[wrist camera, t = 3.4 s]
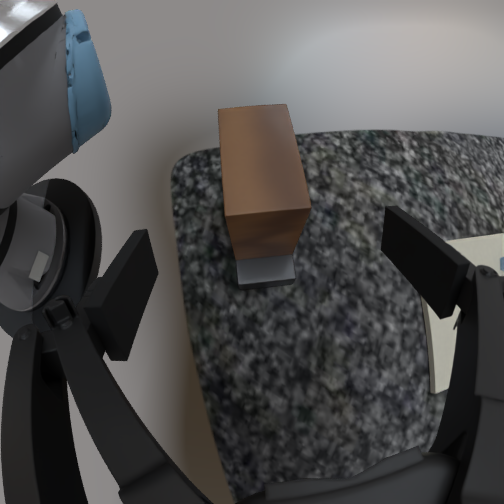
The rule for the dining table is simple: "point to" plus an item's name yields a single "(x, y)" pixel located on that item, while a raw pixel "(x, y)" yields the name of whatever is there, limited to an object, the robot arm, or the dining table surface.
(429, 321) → the board
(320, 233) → the dining table surface
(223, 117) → the eraser
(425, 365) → the dining table surface
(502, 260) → the small blue block
